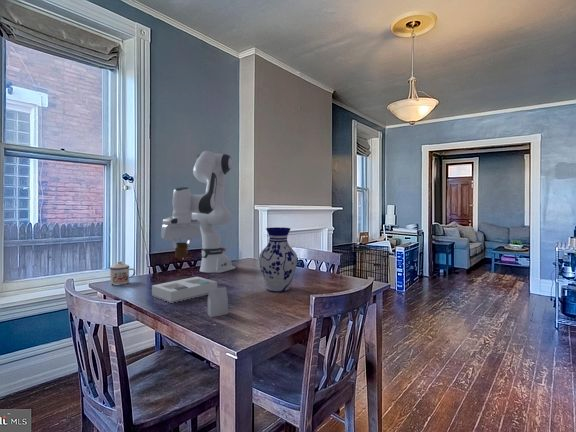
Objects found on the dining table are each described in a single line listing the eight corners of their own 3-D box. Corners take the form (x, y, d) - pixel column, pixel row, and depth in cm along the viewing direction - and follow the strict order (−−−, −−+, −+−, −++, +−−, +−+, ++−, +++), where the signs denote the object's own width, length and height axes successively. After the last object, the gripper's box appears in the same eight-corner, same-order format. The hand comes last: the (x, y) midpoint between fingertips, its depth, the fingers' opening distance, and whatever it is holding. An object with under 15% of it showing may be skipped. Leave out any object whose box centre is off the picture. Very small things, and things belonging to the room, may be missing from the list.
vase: (293, 295, 155) (293, 230, 154) (253, 293, 159) (253, 229, 157) (300, 285, 174) (300, 227, 172) (264, 283, 177) (264, 226, 176)
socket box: (197, 286, 171) (197, 275, 171) (217, 292, 160) (217, 281, 160) (151, 296, 153) (151, 284, 152) (170, 303, 142) (170, 291, 142)
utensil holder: (177, 258, 164) (177, 233, 164) (173, 256, 169) (173, 232, 169) (189, 257, 168) (189, 233, 167) (185, 255, 173) (185, 232, 172)
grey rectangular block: (227, 314, 130) (227, 288, 130) (211, 317, 126) (210, 290, 126) (224, 311, 133) (224, 286, 133) (207, 314, 130) (207, 288, 129)
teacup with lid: (111, 286, 169) (111, 263, 169) (108, 282, 177) (108, 260, 176) (137, 283, 176) (136, 261, 175) (133, 279, 183) (133, 258, 183)
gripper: (196, 219, 178) (196, 245, 178) (159, 220, 162) (159, 248, 163) (203, 219, 174) (203, 246, 174) (166, 220, 158) (166, 250, 159)
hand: (181, 247), depth 168 cm, fingers closed on utensil holder, 5 cm apart
